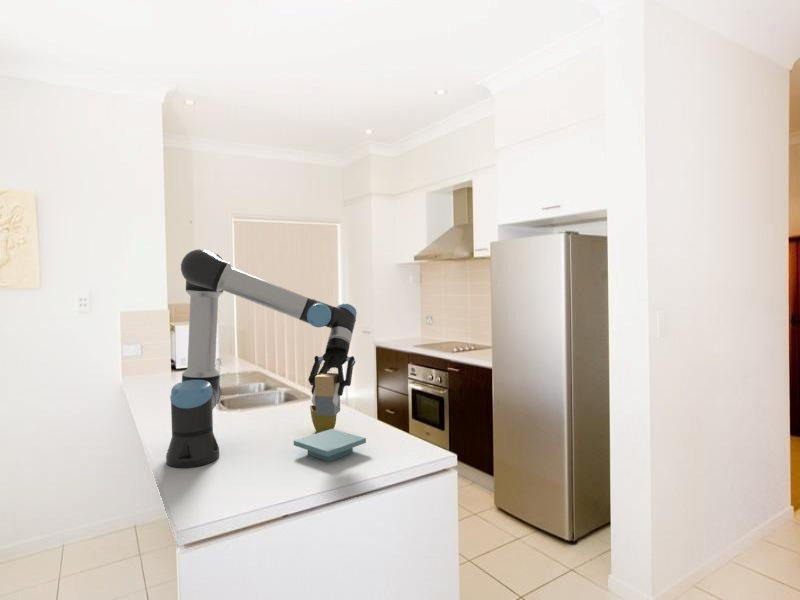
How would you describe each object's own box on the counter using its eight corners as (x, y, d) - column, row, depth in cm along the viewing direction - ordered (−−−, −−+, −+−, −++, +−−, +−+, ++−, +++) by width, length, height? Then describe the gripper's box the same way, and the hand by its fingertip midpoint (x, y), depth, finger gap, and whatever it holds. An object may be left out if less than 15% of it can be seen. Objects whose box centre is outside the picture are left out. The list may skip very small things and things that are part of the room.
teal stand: (293, 454, 158) (293, 440, 158) (331, 441, 171) (331, 428, 171) (328, 466, 148) (328, 451, 148) (366, 452, 160) (365, 438, 160)
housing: (315, 415, 156) (314, 376, 156) (322, 410, 162) (321, 373, 161) (334, 415, 155) (333, 377, 154) (340, 410, 161) (339, 373, 160)
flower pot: (312, 436, 177) (312, 411, 177) (310, 429, 185) (309, 405, 185) (337, 434, 179) (337, 409, 179) (334, 427, 188) (333, 403, 187)
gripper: (368, 350, 171) (356, 410, 156) (314, 349, 175) (298, 409, 159) (364, 336, 166) (351, 397, 150) (309, 336, 169) (291, 396, 154)
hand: (324, 403), depth 155 cm, fingers closed on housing, 6 cm apart
